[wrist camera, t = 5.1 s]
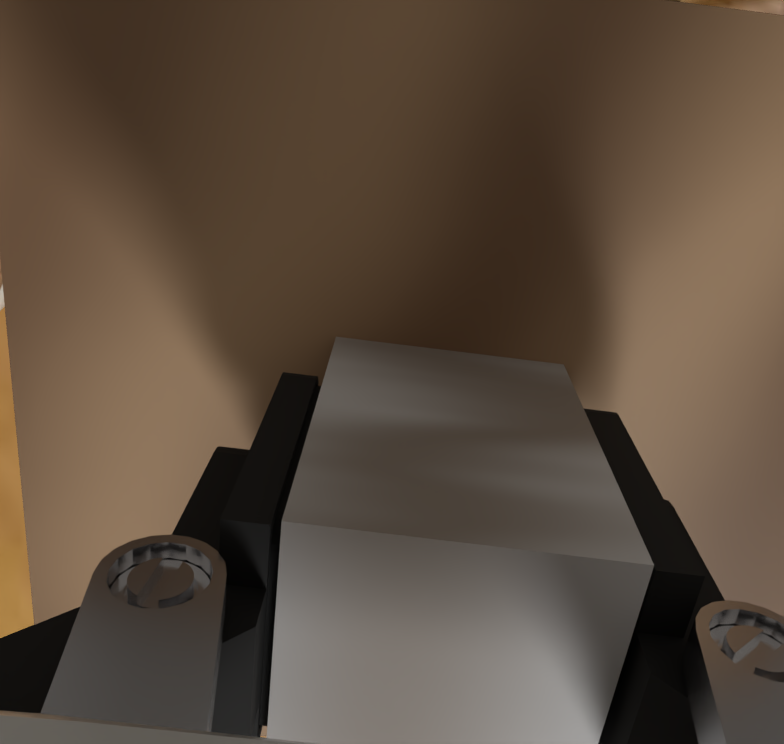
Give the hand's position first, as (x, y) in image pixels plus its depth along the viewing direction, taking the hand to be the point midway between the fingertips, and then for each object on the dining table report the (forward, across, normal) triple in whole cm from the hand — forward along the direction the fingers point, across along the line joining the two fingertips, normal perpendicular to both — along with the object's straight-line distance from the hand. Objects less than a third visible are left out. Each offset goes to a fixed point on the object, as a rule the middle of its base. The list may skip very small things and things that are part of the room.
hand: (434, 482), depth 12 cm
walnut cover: (+2, 0, 0) cm, 2 cm away
